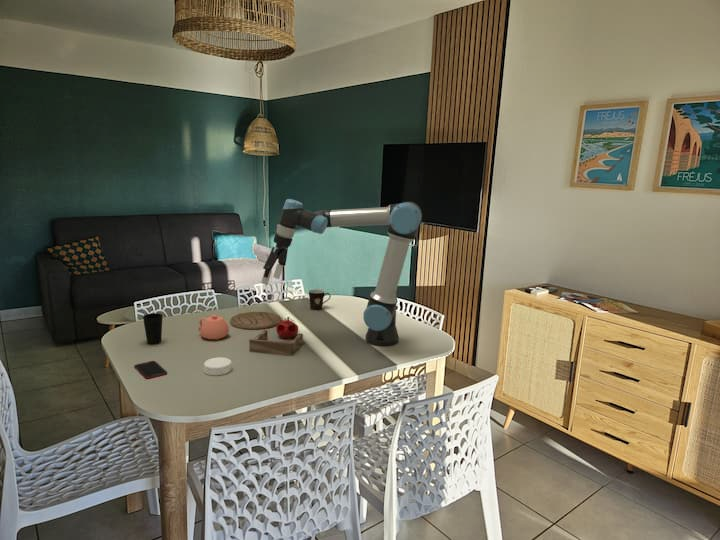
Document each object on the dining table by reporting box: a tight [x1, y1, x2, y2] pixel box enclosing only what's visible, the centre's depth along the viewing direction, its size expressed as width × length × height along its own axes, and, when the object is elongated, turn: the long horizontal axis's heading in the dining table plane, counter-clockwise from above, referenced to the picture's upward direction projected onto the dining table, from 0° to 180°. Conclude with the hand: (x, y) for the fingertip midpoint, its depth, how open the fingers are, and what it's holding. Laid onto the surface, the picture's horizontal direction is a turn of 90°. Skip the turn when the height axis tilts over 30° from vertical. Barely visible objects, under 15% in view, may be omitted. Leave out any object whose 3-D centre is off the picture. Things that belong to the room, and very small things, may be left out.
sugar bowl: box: [197, 314, 230, 341], centre depth 214 cm, size 12×14×10 cm
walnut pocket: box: [248, 329, 304, 357], centre depth 205 cm, size 16×18×5 cm
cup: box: [142, 312, 163, 346], centre depth 204 cm, size 8×8×12 cm
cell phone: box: [133, 360, 168, 380], centre depth 177 cm, size 8×15×1 cm, turn 42°
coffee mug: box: [308, 288, 332, 311], centre depth 263 cm, size 12×9×10 cm
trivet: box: [229, 311, 282, 331], centre depth 238 cm, size 25×25×2 cm
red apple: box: [275, 316, 299, 339], centre depth 218 cm, size 10×10×9 cm
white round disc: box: [203, 356, 233, 376], centre depth 179 cm, size 10×10×4 cm
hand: (270, 281), depth 207 cm, fingers open, 13 cm apart
